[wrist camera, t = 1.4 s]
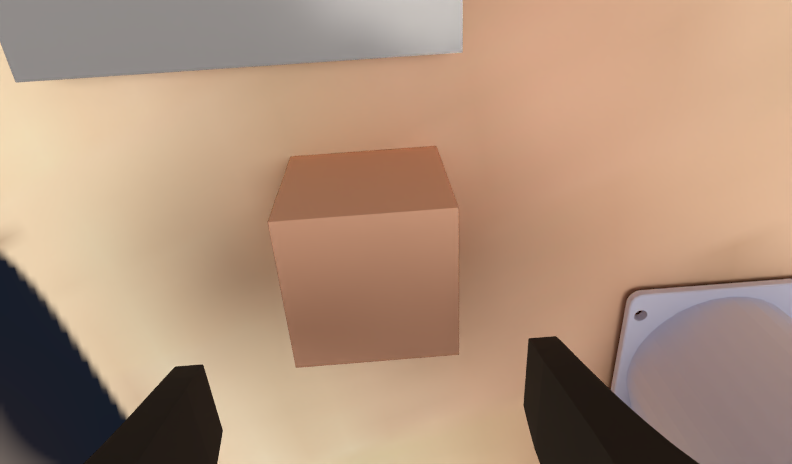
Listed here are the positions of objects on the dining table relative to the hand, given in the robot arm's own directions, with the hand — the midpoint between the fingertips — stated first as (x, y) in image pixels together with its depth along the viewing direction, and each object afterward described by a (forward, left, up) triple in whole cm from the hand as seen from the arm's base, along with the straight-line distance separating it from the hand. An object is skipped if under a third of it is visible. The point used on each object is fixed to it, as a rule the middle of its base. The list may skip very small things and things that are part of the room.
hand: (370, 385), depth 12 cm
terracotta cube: (0, 0, -9) cm, 9 cm away
